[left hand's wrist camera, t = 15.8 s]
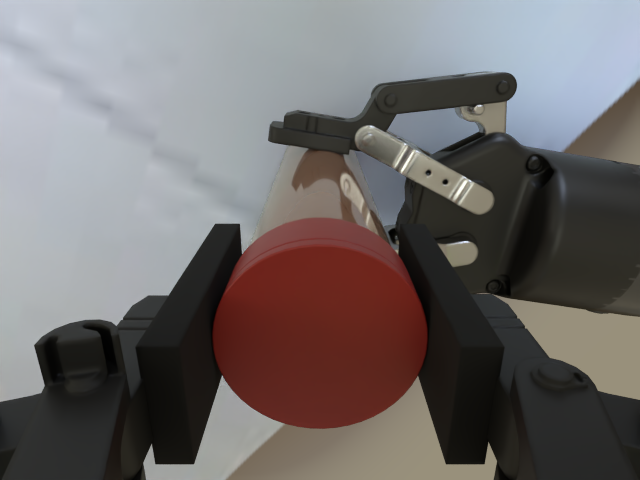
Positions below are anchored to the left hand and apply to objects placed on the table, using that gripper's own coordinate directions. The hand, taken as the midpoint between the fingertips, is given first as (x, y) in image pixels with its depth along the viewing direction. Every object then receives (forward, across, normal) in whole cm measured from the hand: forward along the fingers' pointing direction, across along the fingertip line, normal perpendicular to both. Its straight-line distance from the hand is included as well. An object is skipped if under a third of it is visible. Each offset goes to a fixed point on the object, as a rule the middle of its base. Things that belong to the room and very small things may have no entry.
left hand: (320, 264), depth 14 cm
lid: (-4, 0, 0) cm, 4 cm away
